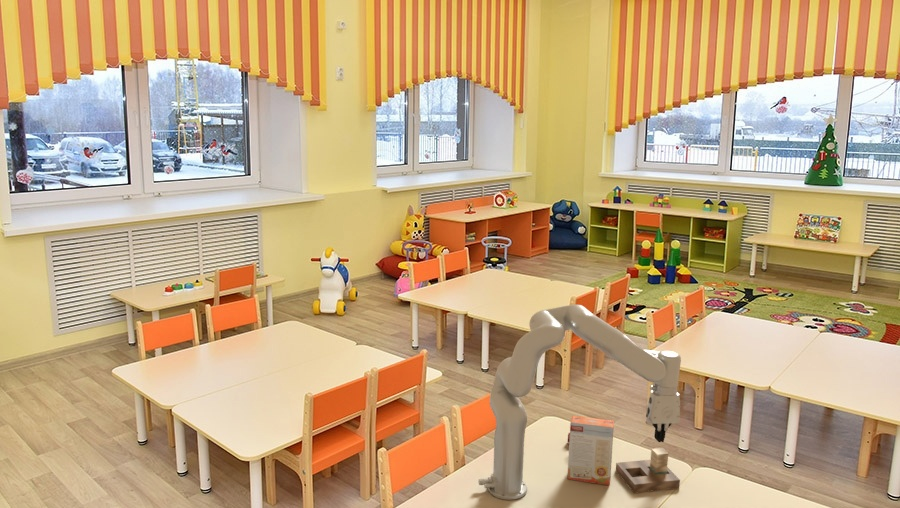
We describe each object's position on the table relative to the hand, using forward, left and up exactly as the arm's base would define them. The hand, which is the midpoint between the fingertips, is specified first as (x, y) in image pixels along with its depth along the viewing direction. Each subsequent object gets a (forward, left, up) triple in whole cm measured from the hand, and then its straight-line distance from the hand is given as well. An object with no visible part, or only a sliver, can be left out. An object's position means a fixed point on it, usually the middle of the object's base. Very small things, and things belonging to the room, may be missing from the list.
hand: (659, 440), depth 235 cm
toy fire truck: (-18, +23, -14) cm, 33 cm away
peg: (+1, 0, -14) cm, 14 cm away
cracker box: (-22, +4, -14) cm, 27 cm away
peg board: (-3, 0, -14) cm, 14 cm away
